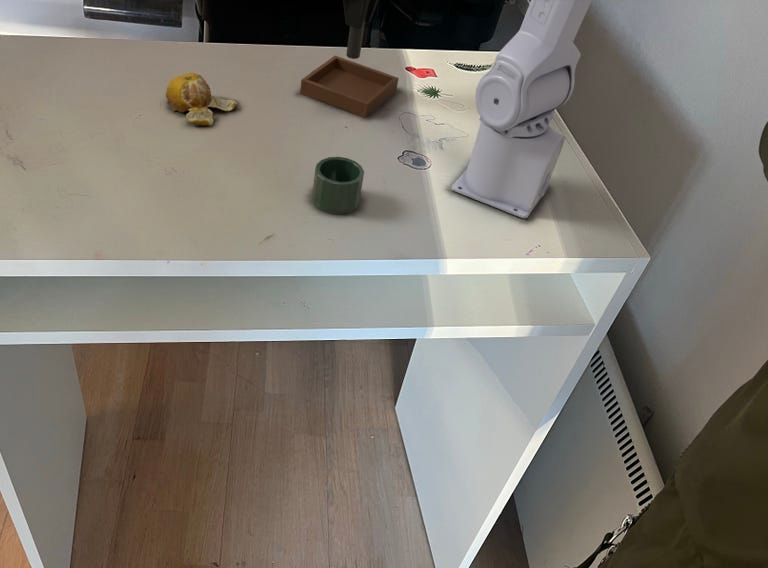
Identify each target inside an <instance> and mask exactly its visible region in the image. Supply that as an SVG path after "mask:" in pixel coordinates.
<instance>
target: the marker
mask: <svg viewBox="0 0 768 568" xmlns="http://www.w3.org/2000/svg"><path fill="white" fill-rule="evenodd" d="M365 24H366V22H365V21H364V23H363V26H362V27H361V28H360V29H358V28H355V27H352V26H349V31H348V40H347V47H346V54H345V55H346V57H347V58H348V59H351V60H356V59H360V57H361V52H362V51H361V50H362V46H363V45H362V44H363V43H362V42H363V37H364V30H365Z"/></svg>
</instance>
